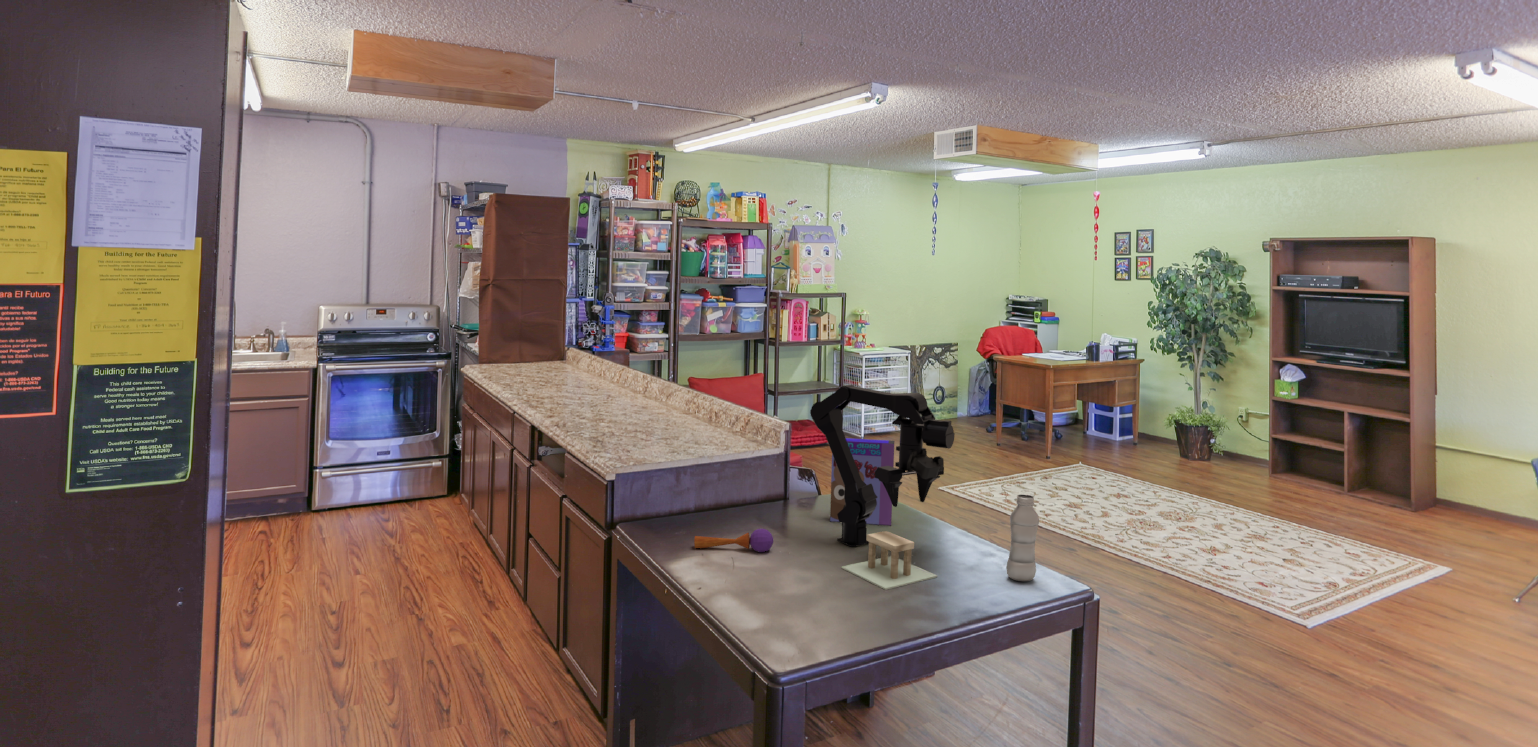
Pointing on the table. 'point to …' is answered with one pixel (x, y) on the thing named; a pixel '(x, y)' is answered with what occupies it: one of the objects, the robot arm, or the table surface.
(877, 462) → the cereal box
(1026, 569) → the plastic bottle
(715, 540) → the kendama
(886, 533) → the beige wooden bench
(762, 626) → the table surface
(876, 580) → the mat
